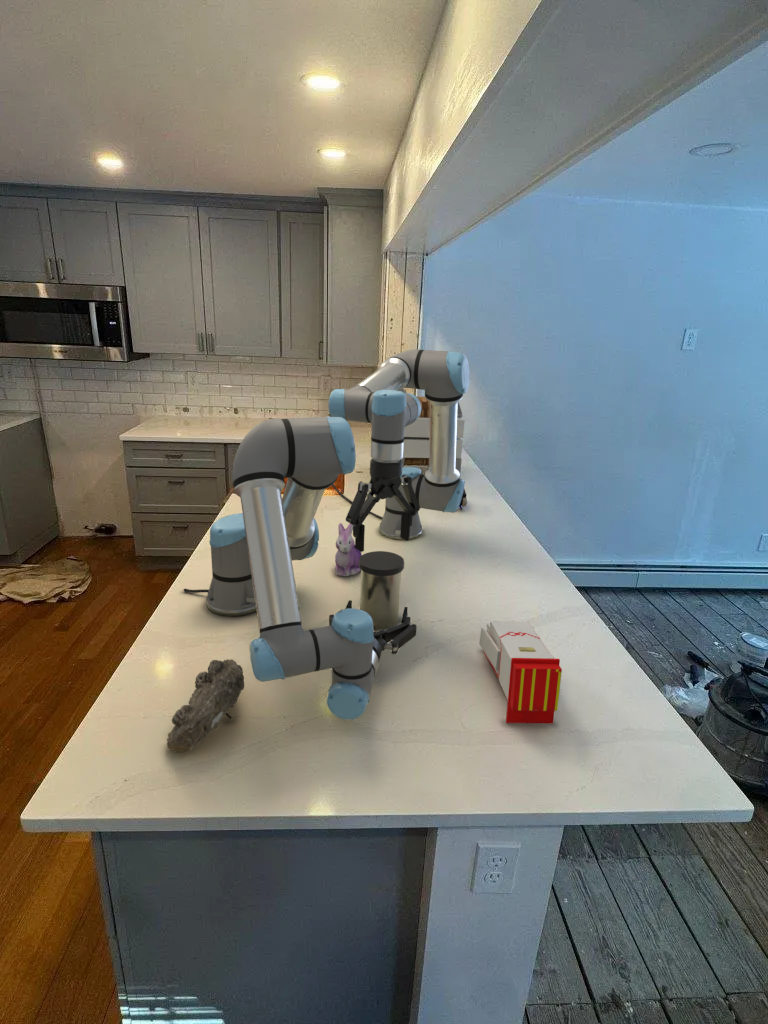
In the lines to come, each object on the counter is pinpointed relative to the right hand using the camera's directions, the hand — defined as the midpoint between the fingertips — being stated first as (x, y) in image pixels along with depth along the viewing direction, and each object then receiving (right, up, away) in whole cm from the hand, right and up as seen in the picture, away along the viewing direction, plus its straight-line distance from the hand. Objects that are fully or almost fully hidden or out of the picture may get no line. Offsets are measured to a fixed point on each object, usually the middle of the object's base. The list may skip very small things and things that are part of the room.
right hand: (382, 544), depth 138 cm
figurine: (-10, -10, +32) cm, 35 cm away
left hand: (-1, -15, -1) cm, 16 cm away
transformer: (+18, +27, +137) cm, 141 cm away
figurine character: (+30, +10, +93) cm, 98 cm away
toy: (+28, -29, -15) cm, 43 cm away
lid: (0, -4, +2) cm, 5 cm away
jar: (-1, -19, +7) cm, 21 cm away
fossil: (-32, -31, -30) cm, 54 cm away
